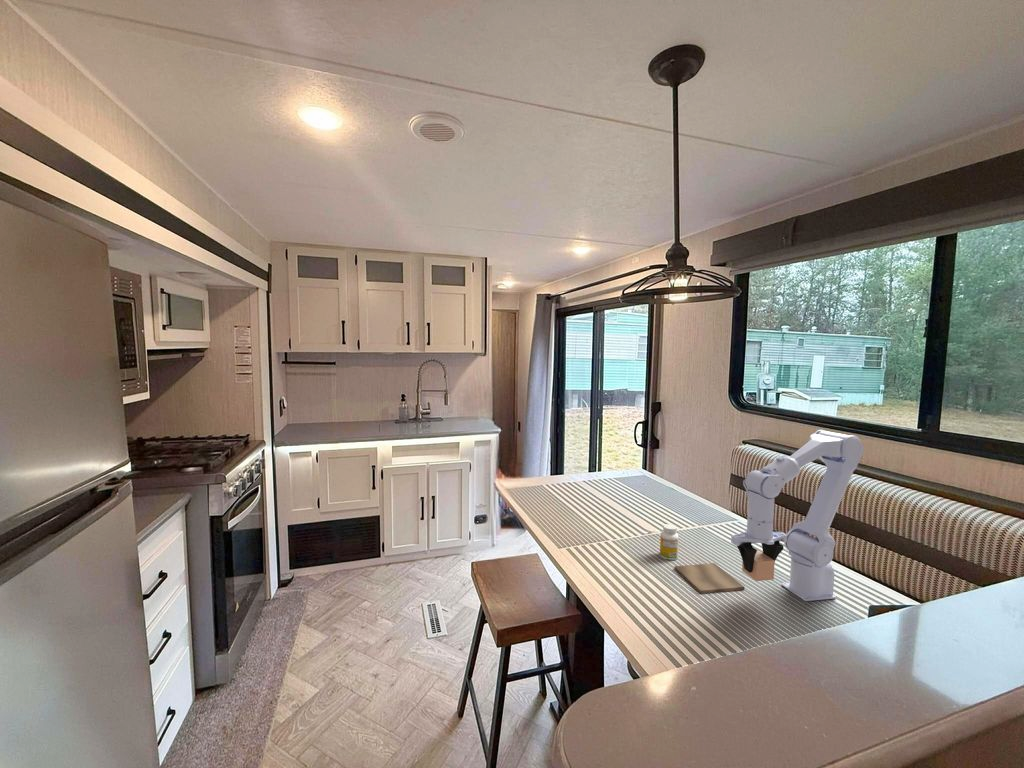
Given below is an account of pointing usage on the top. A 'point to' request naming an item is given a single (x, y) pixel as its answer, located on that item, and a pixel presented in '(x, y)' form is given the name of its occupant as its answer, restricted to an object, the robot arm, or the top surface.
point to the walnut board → (708, 578)
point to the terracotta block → (761, 568)
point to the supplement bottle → (669, 542)
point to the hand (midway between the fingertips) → (757, 569)
